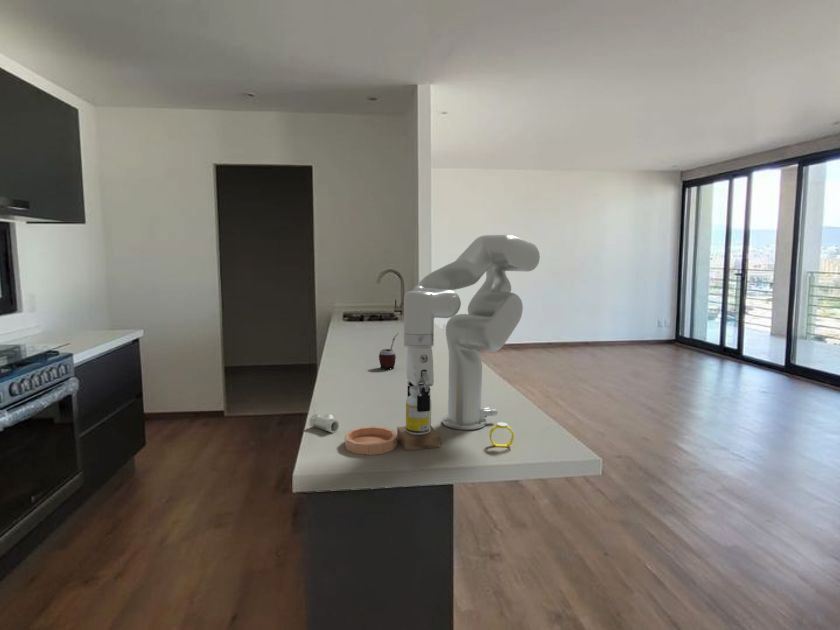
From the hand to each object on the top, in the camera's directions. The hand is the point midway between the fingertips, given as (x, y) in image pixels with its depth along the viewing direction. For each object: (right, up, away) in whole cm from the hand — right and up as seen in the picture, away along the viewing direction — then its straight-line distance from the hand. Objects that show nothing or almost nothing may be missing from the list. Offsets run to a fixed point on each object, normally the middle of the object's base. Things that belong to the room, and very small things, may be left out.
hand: (418, 405), depth 130 cm
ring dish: (-12, -10, -1) cm, 16 cm away
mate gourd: (-13, 0, +87) cm, 88 cm away
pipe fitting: (-25, -9, +12) cm, 29 cm away
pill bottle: (0, -7, +1) cm, 7 cm away
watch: (+21, -10, -1) cm, 24 cm away
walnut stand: (0, -10, +1) cm, 10 cm away
